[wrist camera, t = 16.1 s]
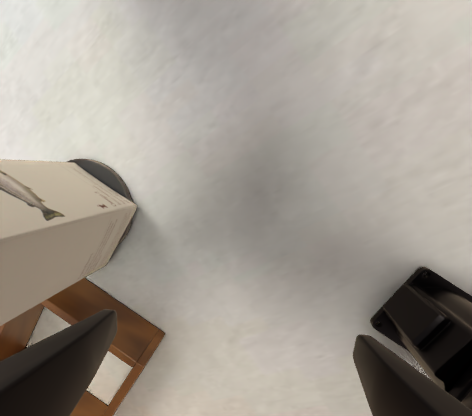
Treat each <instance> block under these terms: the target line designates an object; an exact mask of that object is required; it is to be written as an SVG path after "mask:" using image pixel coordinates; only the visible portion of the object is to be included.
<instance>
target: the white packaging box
mask: <svg viewBox="0 0 472 416" xmlns="http://www.w3.org/2000/svg"><path fill="white" fill-rule="evenodd" d="M136 208H137V205H136V204H134V203H132V202H131V201H129V200H128V199H126V198H124V197H123V196H121V195H120V194H118V193H117V192H115V191H113V190H112V189H110V188H109V187H108V186H106V185H105V184H103V183H102V182H100V181H99V180H98V179H96V178H95V177H93V176H92V175H90V174H89V173H88V172H86V171H85V170H83V169H82V168H81V167H79V166H78V165H77V164H75V163H72V162H52V161H28V160H4V159H0V326H1V325H3V324H5V323H6V322H8V321H10V320H12V319H13V318H15V317H17V316H18V315H20V314H22V313H24V312H25V311H27V310H29V309H31V308H32V307H34V306H36V305H38V304H39V303H41V302H43V301H45V300H46V299H48V298H50V297H52V296H53V295H55V294H57V293H59V292H60V291H62V290H64V289H65V288H67V287H69V286H71V285H72V284H74V283H76V282H78V281H79V280H81V279H83V278H85V277H86V276H88V275H90V274H92V273H93V272H95V271H97V270H99V269H100V268H102V267H104V266H106V264H107V263H108V261H109V259H110V257H111V256H112V253H113V252H114V250H115V248H116V246H117V244H118V242H119V241H120V239H121V237H122V235H123V233H124V231H125V229H126V227H127V226H128V224H129V222H130V220H131V218H132V216H133V214H134V212H135V210H136Z"/></svg>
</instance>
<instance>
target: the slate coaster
mask: <svg viewBox="0 0 472 416" xmlns="http://www.w3.org/2000/svg"><path fill="white" fill-rule="evenodd" d="M67 162H72V163H75V164H77V165H78V166H79V167H81V168H82V169H83V170H85V171H86V172H88V173H89V174H90V175H92V176H93V177H95V178H96V179H98V180H99V181H100V182H102V183H103V184H105V185H106V186H108V187H109V188H110V189H112V190H113V191H115V192H117V193H118V194H120V195H121V196H123V197H124V198H126V199H128V200H129V201H131V202H132V200H131V196H130V193H129V191H128V189H127V187H126V185H125V183H124V182H123V180H122V179H121V178H120V176H119V175H118V174H117V173H116V172H115V171H114V170H112V169H111V168H110V167H108V166H106V165H105V164H103V163H101V162H98V161H95V160H90V159H74V160H70V161H67ZM132 219H133V216H132V218H131V220H130V222H129V224H128V226H127V227H126V229H125V231H124V233H123V235H122V237H121V239H120V241H119V242H118V244H119V243H120V242H122V241H123V239H124V238H125V237H126V235H127V234H128V232H129V230H130V227H131V224H132ZM118 244H117V245H118Z"/></svg>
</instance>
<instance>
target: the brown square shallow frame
mask: <svg viewBox="0 0 472 416" xmlns="http://www.w3.org/2000/svg"><path fill="white" fill-rule="evenodd" d="M44 306H45V307H46V308H48V309H49V310H50V311H52V312H53V313H55V314H56V315H58V316H59V317H60V318H62V319H63V320H65V321H66V322H68V323H69V324H71V325H74V324H76V323H78V322H80V321H82V320H84V319H86V318H88V317H90V316H92V315H94V314H96V313H98V312H100V311H102V310H104V309H110V310H115V311H116V313H117V333H116V336H115V338H114V340H113V342H112V344H111V345H110V347H109V349H108V351H109V352H111V353H112V354H114V355H115V356H117V357H118V358H119V359H121V360H122V361H124V362H125V363H127V364H128V365H129V366H131V367H133V368H132V370H131V371H130V373H129V375H128V376H127V378H126V379H125V381H124V382H123V384H122V385H121V387H120V389H119V390H118V392H117V393H116V395H115V396H114V398H113V400H112V401H111V403H110V404H109V406H107V405H106V404H104V403H103V402H101V401H100V400H99V399H97V398H96V397H94V396H93V395H92V394H90V393H89V392H87V391H85V393H84V394H83V396H82V397H81V399H80V401H79V402H78V404H77V405H76V407H75V408H74V410H73V412H72V413H71V415H70V416H113V414H114V413H115V411H116V410H117V408H118V407H119V405H120V404H121V402H122V400H123V399H124V397H125V396H126V394H127V393H128V391H129V390H130V388H131V387H132V385H133V384H134V382H135V381H136V379H137V378H138V376H139V375H140V373H141V372H142V370H143V369H144V367H145V365H146V364H147V362H148V361H149V359H150V358H151V356H152V354H153V353H154V351H155V350H156V348H157V347H158V345H159V343H160V342H161V340H162V339H163V337H164V336H165V333H164V332H163V331H161V330H159V329H158V328H157V327H155V326H154V325H152V324H151V323H149V322H148V321H146V320H145V319H143V318H142V317H141V316H139V315H138V314H136V313H135V312H133V311H132V310H130V309H129V308H127V307H126V306H124V305H123V304H122V303H120V302H119V301H117V300H116V299H114V298H113V297H111V296H110V295H108V294H107V293H106V292H104V291H103V290H101V289H100V288H98V287H97V286H95V285H94V284H92V283H91V282H89V281H88V280H87V279H85V278H83V279H81V280H79V281H78V282H76V283H74V284H72V285H71V286H69V287H67V288H65V289H64V290H62V291H60V292H59V293H57V294H55V295H53V296H52V297H50V298H48V299H46V300H45V301H43V302H41V303H39V304H38V305H36V306H34V307H32V308H31V309H29V310H27V311H25V312H24V313H22V314H20V315H18V316H17V317H15V318H13V319H12V320H10V321H8V322H6V323H5V324H3V325H1V326H0V361H2V360H4V359H6V358H8V357H10V356H12V355H14V354H16V353H18V352H20V351H22V350H24V349H26V348H25V347H26V345H27V342H28V340H29V338H30V336H31V334H32V332H33V329H34V327H35V325H36V323H37V321H38V319H39V316H40V314H41V312H42V310H43V308H44Z"/></svg>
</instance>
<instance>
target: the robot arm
mask: <svg viewBox="0 0 472 416" xmlns="http://www.w3.org/2000/svg"><path fill="white" fill-rule="evenodd" d="M425 272H426V275H424V276H423V273H425ZM377 322H380V323H379V324H376V323H377ZM371 324H372V326H373V327H374V328H375V329H376V330H377V331H379V332H381V333H382V334H384V335H385V336H387V337H388V338H390V339H391V340H393V341H394V342H396V343H397V344H399V345H400V346H402V347H403V348H405V349H406V350H408V351H409V352H410V353H411V354H412V355H413V357H414V358H415V359H416V360H417V362H418V363H419V364H420V366H421V367H422V368H423V370H424V371H425V372H426V374H427V375H428V376H429V377H430V379H431V380H432V381H431V380H430V379H429V378H427V377H426V376H425V375H423V374H422V373H420V372H419V371H418V370H416V369H415V368H414V367H412V366H411V365H410V364H408V363H407V362H406V361H404V360H403V359H401V358H400V357H399V356H397V355H396V354H395V353H393V352H392V351H391V350H389V349H388V348H386V347H385V346H384V345H382V344H381V343H380V342H378V341H377V340H376V339H374V338H373V337H371V336H369V335H358V336H357V338H356V342H355V346H354V351H353V359H354V363H355V366H356V368H357V371H358V374H359V377H360V380H361V383H362V386H363V389H364V392H365V395H366V398H367V401H368V404H369V407H370V409H371V412H372V414H373V416H472V296H470V295H469V294H467V293H466V292H464V291H463V290H461V289H459V288H458V287H456V286H455V285H453V284H452V283H450V282H449V281H447V280H445V279H444V278H442V277H441V276H439V275H438V274H436V273H434V272H433V271H431V270H430V269H428V268H426V267H420V268H419V269H417V270H416V271H415V273H414V274H413V275H412V276H411V277H410V278H409V279H408V280H407V281H406V282H405V283H404V284H403V285H402V286H401V287H400V288H399V289H398V290H397V291H396V293H395V294H394V295H393V296H392V297H391V298H390V299H389V300H388V301H387V302H386V303H385V304H384V305H383V307H382V308H381V309H380V310H379V311H378V312H377V313H376V314H375V315H374V316H373V317H372V319H371ZM116 333H117V313H116V311H115V310H110V309H104V310H102V311H100V312H98V313H96V314H94V315H92V316H90V317H88V318H86V319H84V320H82V321H80V322H78V323H76V324H74V325H72V326H70V327H68V328H66V329H64V330H62V331H60V332H58V333H56V334H54V335H52V336H50V337H48V338H46V339H44V340H42V341H40V342H38V343H36V344H34V345H32V346H30V347H28V348H26V349H24V350H22V351H20V352H18V353H16V354H14V355H12V356H10V357H8V358H6V359H4V360H2V361H0V416H70V415H71V413H72V412H73V410H74V408H75V407H76V405H77V404H78V402H79V401H80V399H81V397H82V396H83V394H84V393H85V391H86V389H87V388H88V386H89V385H90V383H91V381H92V380H93V378H94V376H95V374H96V372H97V370H98V369H99V367H100V365H101V363H102V361H103V359H104V357H105V355H106V353H107V351H108V349H109V347H110V345H111V344H112V342H113V340H114V338H115V336H116Z"/></svg>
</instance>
